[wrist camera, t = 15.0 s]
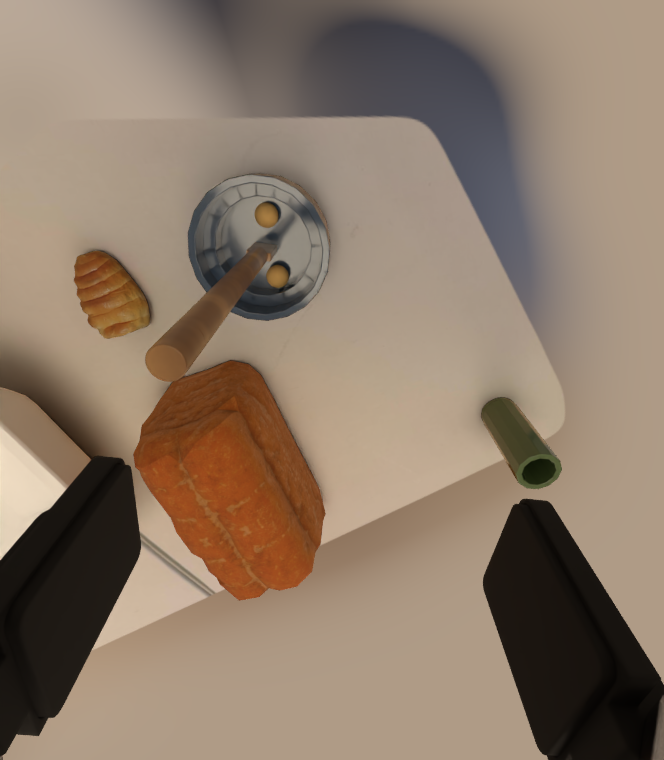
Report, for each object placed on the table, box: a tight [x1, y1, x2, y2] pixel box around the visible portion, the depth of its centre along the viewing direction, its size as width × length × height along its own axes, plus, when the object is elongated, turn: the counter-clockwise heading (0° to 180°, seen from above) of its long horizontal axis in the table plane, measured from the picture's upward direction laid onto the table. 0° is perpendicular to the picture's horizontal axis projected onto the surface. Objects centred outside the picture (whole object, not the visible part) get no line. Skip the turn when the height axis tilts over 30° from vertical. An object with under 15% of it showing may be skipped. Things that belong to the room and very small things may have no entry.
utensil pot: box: [481, 398, 562, 489], centre depth 49 cm, size 5×5×12 cm
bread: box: [133, 360, 325, 600], centre depth 51 cm, size 14×27×15 cm, turn 21°
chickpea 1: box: [255, 202, 279, 228], centre depth 42 cm, size 2×2×2 cm
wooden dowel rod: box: [145, 242, 277, 382], centre depth 32 cm, size 2×2×30 cm
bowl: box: [188, 173, 330, 321], centre depth 43 cm, size 13×13×6 cm
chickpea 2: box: [266, 265, 289, 288], centre depth 45 cm, size 2×2×2 cm
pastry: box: [74, 251, 150, 339], centre depth 46 cm, size 9×7×4 cm
